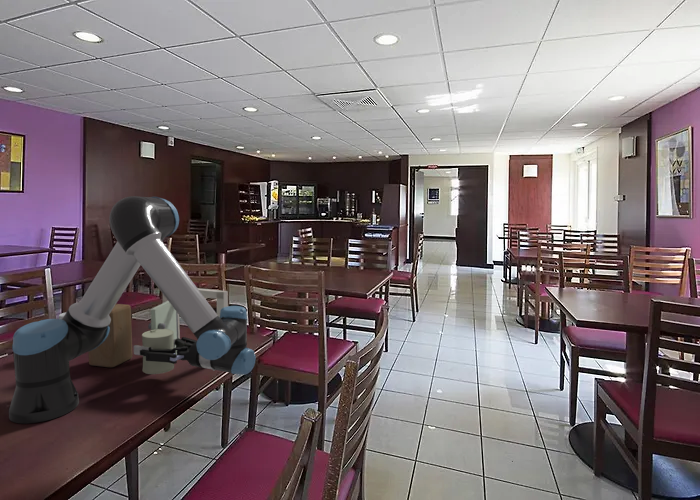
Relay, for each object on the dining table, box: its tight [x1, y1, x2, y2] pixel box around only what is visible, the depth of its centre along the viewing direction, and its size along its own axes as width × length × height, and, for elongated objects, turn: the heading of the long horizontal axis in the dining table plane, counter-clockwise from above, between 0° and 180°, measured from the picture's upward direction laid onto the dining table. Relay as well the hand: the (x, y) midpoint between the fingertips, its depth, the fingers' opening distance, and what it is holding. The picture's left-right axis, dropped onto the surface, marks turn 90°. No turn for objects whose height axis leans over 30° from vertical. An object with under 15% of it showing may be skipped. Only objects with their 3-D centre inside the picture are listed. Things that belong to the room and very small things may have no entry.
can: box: [141, 329, 175, 375], centre depth 131 cm, size 9×9×12 cm
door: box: [147, 301, 178, 355], centre depth 145 cm, size 5×18×21 cm, turn 0°
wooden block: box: [87, 303, 133, 368], centre depth 145 cm, size 10×10×20 cm
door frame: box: [162, 287, 229, 339], centre depth 153 cm, size 2×27×25 cm, turn 71°
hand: (146, 344), depth 132 cm, fingers closed on can, 9 cm apart
